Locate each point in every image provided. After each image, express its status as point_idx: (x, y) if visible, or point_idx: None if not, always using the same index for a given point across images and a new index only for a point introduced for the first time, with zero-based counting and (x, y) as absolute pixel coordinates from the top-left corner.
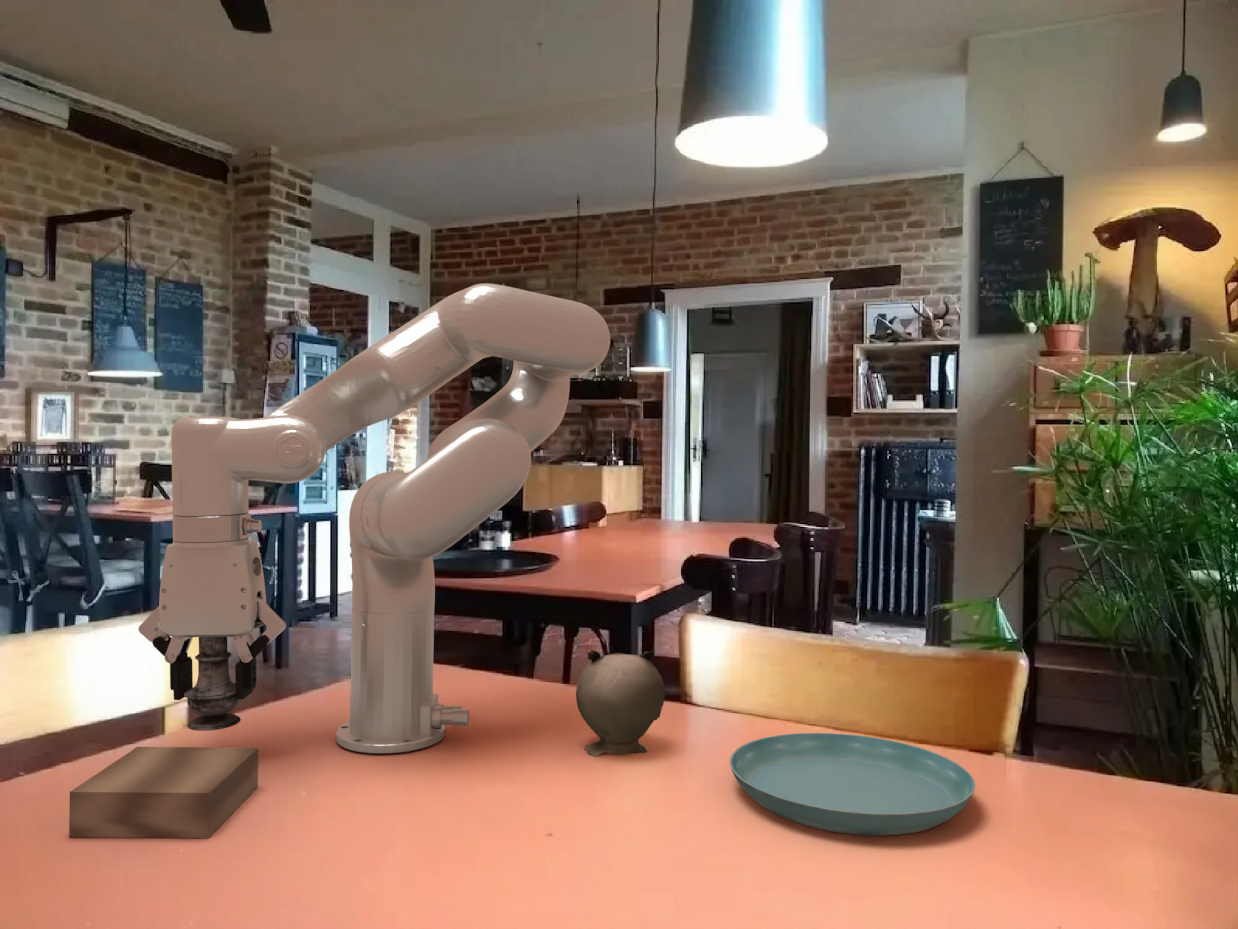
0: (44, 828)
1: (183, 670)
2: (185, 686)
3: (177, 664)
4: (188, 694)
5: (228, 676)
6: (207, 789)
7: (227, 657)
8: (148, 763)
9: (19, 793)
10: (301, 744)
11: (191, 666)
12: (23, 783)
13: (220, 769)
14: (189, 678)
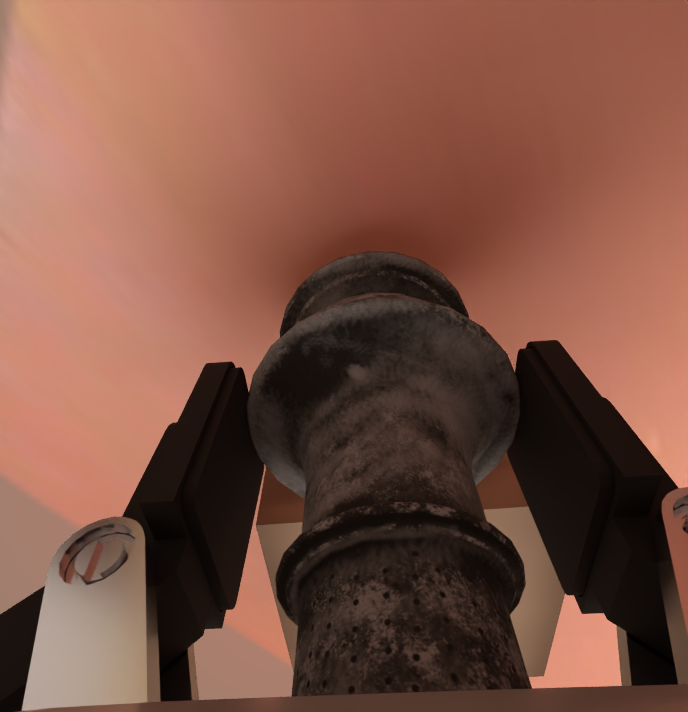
0: (239, 593)
1: (234, 549)
2: (247, 459)
3: (220, 624)
4: (304, 493)
5: (471, 467)
6: (536, 669)
7: (513, 603)
8: None
9: (54, 498)
10: (614, 65)
11: (209, 466)
12: (4, 457)
13: (530, 607)
14: (231, 442)
